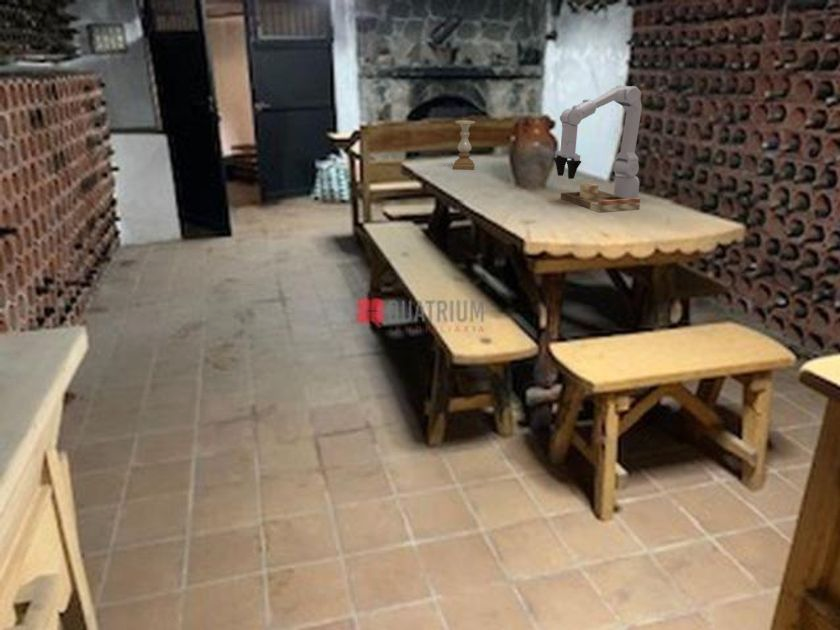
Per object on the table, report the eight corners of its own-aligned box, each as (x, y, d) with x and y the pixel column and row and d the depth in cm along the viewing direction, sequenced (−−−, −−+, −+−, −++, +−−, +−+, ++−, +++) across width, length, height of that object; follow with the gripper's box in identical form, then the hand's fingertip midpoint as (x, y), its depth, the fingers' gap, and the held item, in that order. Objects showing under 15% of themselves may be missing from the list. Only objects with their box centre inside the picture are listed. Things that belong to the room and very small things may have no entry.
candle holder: (454, 166, 350) (455, 120, 342) (474, 166, 349) (476, 120, 340) (453, 169, 340) (454, 121, 331) (474, 169, 339) (475, 122, 330)
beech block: (590, 195, 260) (591, 183, 258) (597, 198, 256) (598, 185, 254) (579, 196, 259) (580, 184, 257) (586, 199, 254) (587, 186, 252)
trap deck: (597, 196, 273) (598, 186, 271) (639, 209, 249) (640, 198, 248) (560, 199, 267) (561, 189, 265) (599, 212, 243) (600, 201, 242)
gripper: (549, 139, 256) (547, 174, 261) (570, 143, 244) (566, 180, 249) (565, 139, 259) (562, 173, 264) (586, 143, 246) (582, 179, 251)
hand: (565, 177), depth 256 cm, fingers open, 7 cm apart
